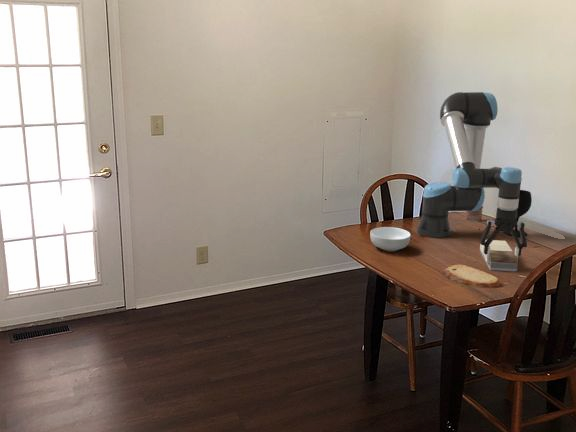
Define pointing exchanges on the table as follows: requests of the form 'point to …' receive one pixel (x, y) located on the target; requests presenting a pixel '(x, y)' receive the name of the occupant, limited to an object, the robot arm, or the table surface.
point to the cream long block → (499, 246)
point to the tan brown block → (502, 257)
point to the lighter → (474, 215)
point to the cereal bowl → (390, 238)
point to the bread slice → (470, 276)
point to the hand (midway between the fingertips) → (501, 262)
